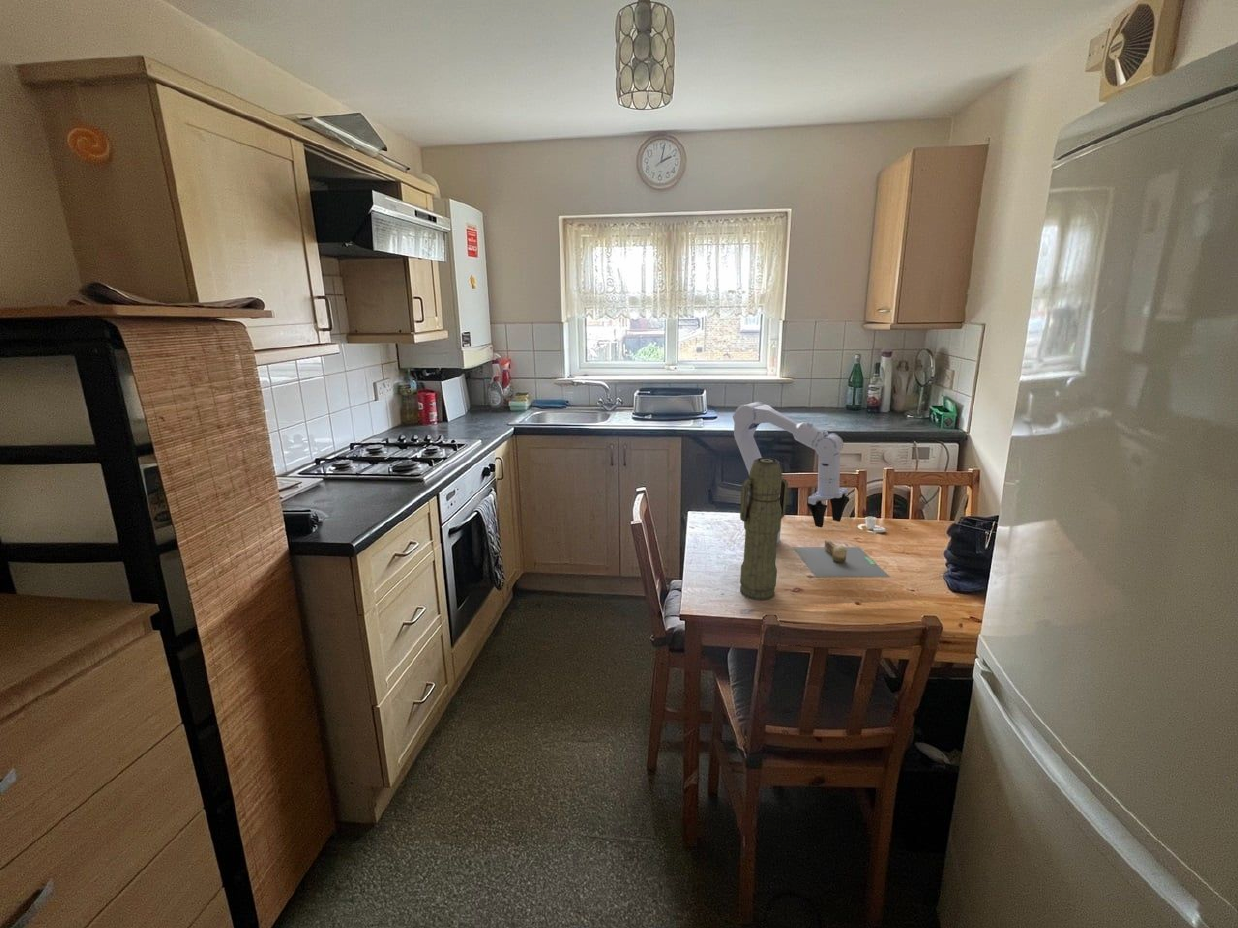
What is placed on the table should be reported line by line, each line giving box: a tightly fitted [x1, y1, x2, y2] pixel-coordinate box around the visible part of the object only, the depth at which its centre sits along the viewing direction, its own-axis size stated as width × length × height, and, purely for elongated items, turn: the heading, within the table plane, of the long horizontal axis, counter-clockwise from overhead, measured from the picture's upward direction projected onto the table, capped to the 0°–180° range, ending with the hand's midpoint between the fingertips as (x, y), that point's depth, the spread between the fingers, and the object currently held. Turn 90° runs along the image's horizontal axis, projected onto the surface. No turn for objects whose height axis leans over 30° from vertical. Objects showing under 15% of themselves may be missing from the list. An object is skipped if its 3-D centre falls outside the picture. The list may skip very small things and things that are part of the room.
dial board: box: [792, 546, 891, 578], centre depth 162 cm, size 20×20×1 cm
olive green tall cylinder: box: [739, 457, 789, 601], centre depth 142 cm, size 9×12×35 cm
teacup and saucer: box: [857, 516, 886, 534], centre depth 189 cm, size 9×8×4 cm
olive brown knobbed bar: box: [823, 539, 847, 562], centre depth 165 cm, size 10×4×3 cm, turn 6°
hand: (827, 523), depth 164 cm, fingers open, 7 cm apart
